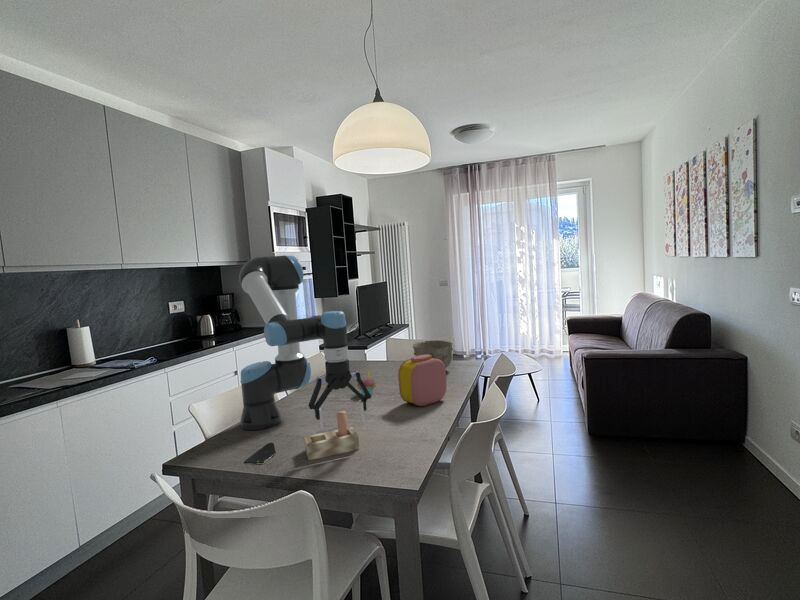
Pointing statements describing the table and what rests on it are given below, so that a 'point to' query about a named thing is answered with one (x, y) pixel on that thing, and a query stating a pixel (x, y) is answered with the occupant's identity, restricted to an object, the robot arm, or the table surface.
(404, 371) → the alarm clock
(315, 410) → the robot arm
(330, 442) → the hole block
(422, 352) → the bowl
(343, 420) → the peg
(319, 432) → the mat
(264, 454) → the smartphone
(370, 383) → the cupcake
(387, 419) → the table surface
